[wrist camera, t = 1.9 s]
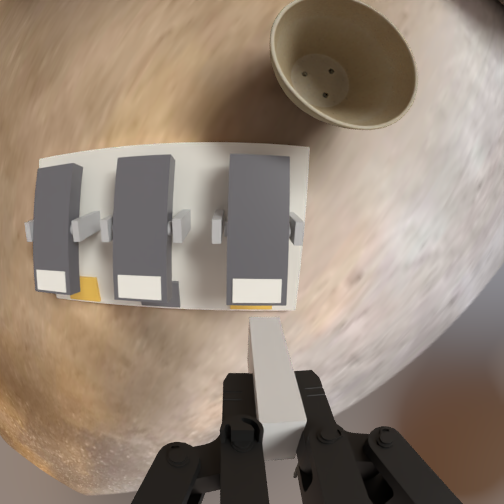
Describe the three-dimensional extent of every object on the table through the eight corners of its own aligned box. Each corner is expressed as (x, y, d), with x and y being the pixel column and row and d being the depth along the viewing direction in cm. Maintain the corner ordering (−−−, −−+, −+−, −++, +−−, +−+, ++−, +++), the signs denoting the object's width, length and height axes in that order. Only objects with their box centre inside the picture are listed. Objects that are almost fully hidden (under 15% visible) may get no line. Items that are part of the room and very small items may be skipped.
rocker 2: (123, 163, 18) (114, 157, 17) (178, 160, 19) (173, 153, 17) (120, 294, 19) (111, 299, 17) (174, 298, 19) (169, 303, 18)
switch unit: (45, 158, 19) (13, 161, 15) (306, 147, 21) (324, 144, 16) (61, 293, 24) (38, 316, 19) (293, 304, 25) (304, 334, 21)
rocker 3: (227, 160, 19) (226, 153, 17) (288, 162, 19) (293, 156, 18) (224, 299, 20) (223, 305, 18) (285, 300, 20) (289, 305, 18)
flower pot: (294, 155, 21) (320, 154, 14) (238, 53, 18) (240, 12, 11) (390, 116, 20) (439, 107, 13) (339, 23, 17) (371, -13, 10)
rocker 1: (46, 172, 18) (35, 168, 16) (85, 166, 18) (74, 162, 17) (44, 287, 19) (33, 291, 17) (82, 291, 19) (71, 295, 17)
